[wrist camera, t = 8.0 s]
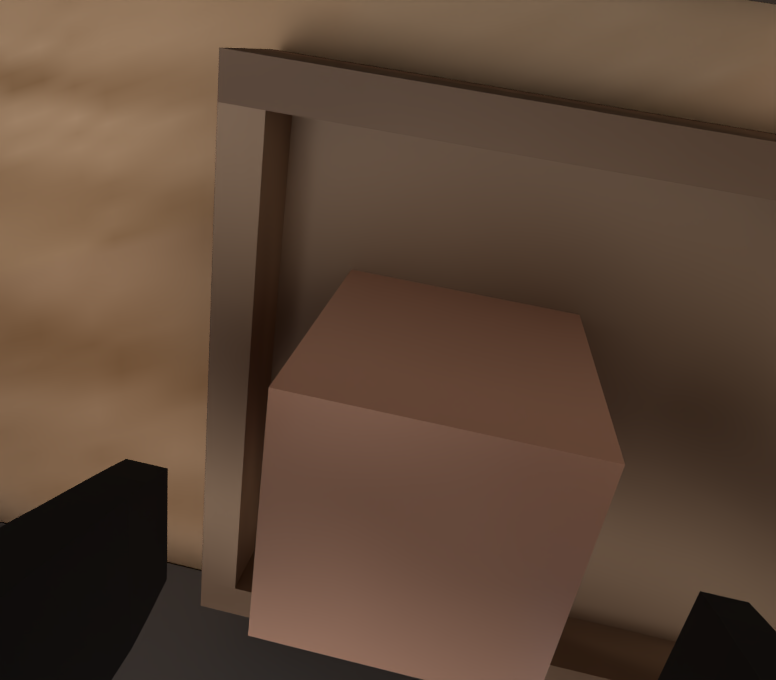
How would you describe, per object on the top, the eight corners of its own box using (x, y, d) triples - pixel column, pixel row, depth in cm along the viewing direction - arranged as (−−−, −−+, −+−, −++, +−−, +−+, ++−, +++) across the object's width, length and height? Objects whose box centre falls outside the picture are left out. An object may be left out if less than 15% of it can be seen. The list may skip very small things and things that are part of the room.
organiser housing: (543, 685, 18) (557, 893, 14) (-80, 532, 20) (-252, 674, 15) (825, -76, 10) (1075, -176, 6) (-237, -225, 12) (-682, -395, 7)
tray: (889, 701, 16) (1041, 954, 12) (238, 547, 17) (147, 719, 13) (1265, 183, 11) (1834, 277, 6) (273, 19, 12) (136, -2, 8)
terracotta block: (523, 500, 14) (533, 707, 10) (326, 456, 15) (247, 635, 10) (579, 314, 12) (625, 464, 8) (351, 269, 13) (268, 387, 8)
